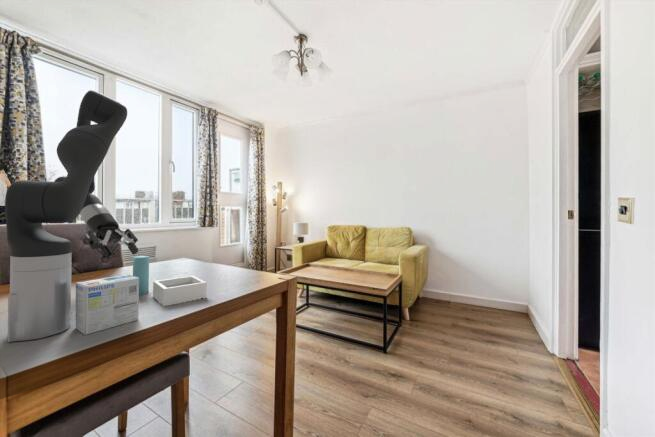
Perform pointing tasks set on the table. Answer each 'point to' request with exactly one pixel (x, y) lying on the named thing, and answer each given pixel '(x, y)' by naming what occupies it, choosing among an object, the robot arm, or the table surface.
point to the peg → (142, 272)
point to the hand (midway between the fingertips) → (124, 254)
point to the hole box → (179, 290)
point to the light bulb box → (106, 303)
